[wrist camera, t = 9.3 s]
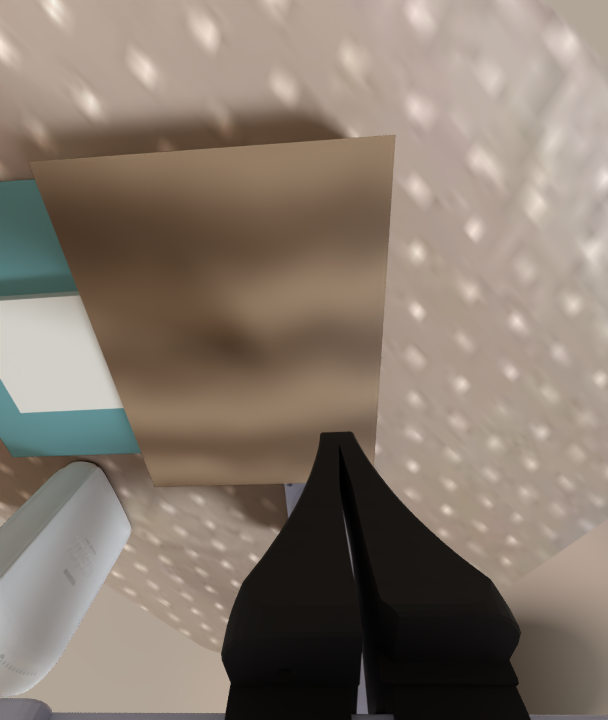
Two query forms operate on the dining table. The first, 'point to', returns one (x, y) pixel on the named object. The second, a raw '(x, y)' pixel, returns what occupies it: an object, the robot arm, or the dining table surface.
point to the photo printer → (54, 569)
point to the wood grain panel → (233, 297)
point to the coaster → (52, 355)
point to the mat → (34, 276)
